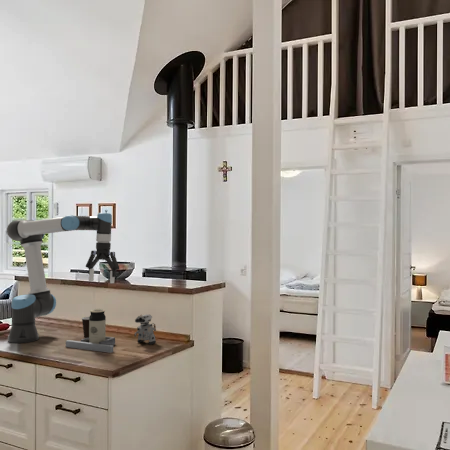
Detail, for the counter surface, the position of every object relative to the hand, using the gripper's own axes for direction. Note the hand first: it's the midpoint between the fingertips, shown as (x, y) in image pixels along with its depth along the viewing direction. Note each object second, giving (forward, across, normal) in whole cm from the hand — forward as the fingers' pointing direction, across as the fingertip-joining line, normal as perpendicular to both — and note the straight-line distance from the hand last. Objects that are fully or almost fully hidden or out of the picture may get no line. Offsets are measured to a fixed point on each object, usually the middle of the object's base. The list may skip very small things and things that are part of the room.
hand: (101, 282), depth 264 cm
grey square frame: (+31, -7, +10) cm, 33 cm away
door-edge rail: (+31, -8, +17) cm, 36 cm away
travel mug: (+31, -7, +10) cm, 33 cm away
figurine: (+30, -26, -4) cm, 40 cm away
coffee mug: (+31, +11, -8) cm, 34 cm away
